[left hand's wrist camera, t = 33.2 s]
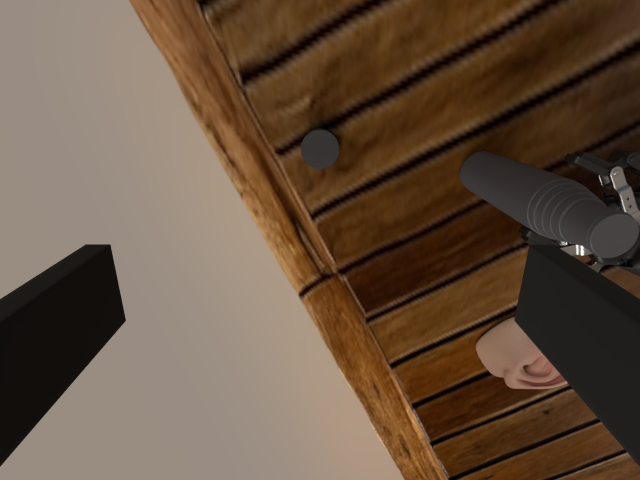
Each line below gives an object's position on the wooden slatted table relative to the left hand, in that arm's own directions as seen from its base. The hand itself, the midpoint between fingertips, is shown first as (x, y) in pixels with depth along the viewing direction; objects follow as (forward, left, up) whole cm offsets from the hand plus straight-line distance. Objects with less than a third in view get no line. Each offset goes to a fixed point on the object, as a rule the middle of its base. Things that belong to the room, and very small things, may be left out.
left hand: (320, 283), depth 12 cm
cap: (0, 0, -33) cm, 33 cm away
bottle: (-15, +13, -35) cm, 40 cm away
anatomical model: (-10, +39, -35) cm, 54 cm away
